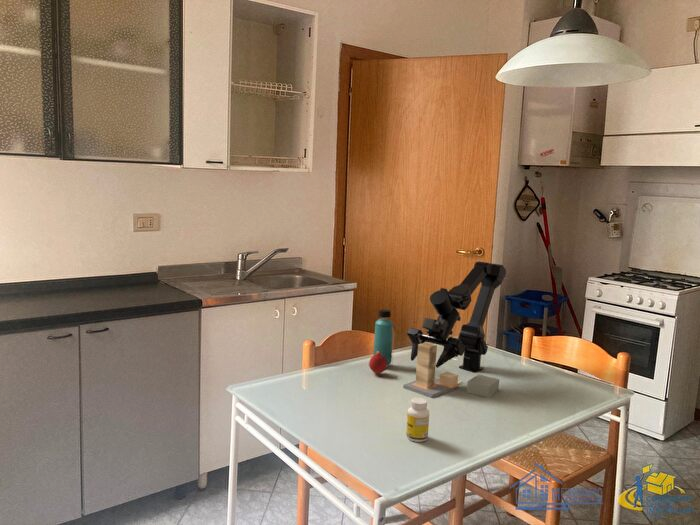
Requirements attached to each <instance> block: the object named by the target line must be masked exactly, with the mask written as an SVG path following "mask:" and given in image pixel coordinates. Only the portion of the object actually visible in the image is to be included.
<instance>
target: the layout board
mask: <svg viewBox="0 0 700 525" xmlns="http://www.w3.org/2000/svg"><path fill="white" fill-rule="evenodd" d="M458 380H459V375H458V374H456V373H453V372H450V371H445V372H443V373H439V376H438V377H435V379H434V385H433V386H431V387H429V388H424V387H421V386H418V385H415V384H416V380H413V381H411V382H408V383H404V384H403V387H402V388H403V389H406V390H409V391H411V392H415V393H417V394H420V395H422V396H426V397H428V398H431V399H432V398H435V397H438V396H440V395H444V394H446V393H449V392H451V391H454V390H456V389H459V386H461V385H462V383H460V384H459V383H458Z"/></svg>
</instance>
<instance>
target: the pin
mask: <svg viewBox="0 0 700 525" xmlns="http://www.w3.org/2000/svg"><path fill="white" fill-rule="evenodd" d="M437 350H438V344H434V343H430V342H426V341H425V342H424V343H421V344H418V355H417V356H416V371H415V381H416V384H415V385H418V386H421V387H424V388H429V387H431V386H433V385H434V379H435V378H436V377H435V376H436V363H437Z"/></svg>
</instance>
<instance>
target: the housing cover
mask: <svg viewBox="0 0 700 525" xmlns="http://www.w3.org/2000/svg"><path fill="white" fill-rule="evenodd" d="M499 388H500V379H499V378H496V377H493V376H492V377H491V376H487V375H482V374H480V373H479V374H476V375H475V376H473V377H472V378H470V379H468V381H467V383H466V393H469V394H472V395H473V394H474V395H476V396H481V397H484V398H489V397H491V396H492V395H494V394H495V393H496V392H498V391H499Z"/></svg>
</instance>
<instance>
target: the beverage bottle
mask: <svg viewBox="0 0 700 525" xmlns="http://www.w3.org/2000/svg"><path fill="white" fill-rule="evenodd" d="M378 317H380V318H378V319H377V320H376V321H375V324H374V325H375V326H374V338H373V340H374V341H373V356H374V355H375V354H376V353H377V351H379V352H380V354H382V355H383V356H384V357H385V359H386V361H387V366H389V365H390V364H391V363H392V359H393V344H394V343H393V339H394V338H393V334H394V332H393V331H394V322H393V321H392V320H391V319H389V318H391V310H389V309H379V311H378Z"/></svg>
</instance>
